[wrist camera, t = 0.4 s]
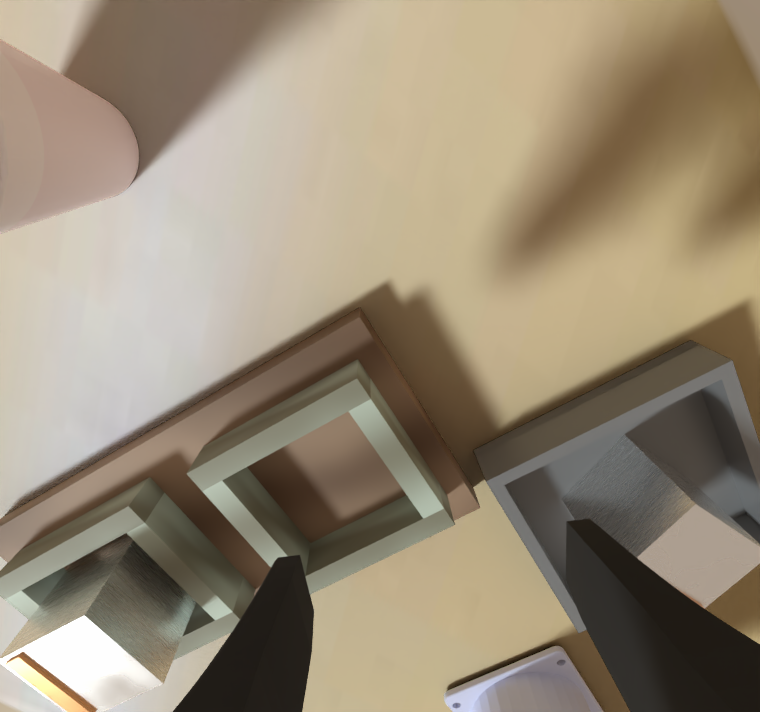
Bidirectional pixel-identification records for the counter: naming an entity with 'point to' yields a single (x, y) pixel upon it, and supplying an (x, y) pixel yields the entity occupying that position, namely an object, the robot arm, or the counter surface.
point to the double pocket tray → (256, 484)
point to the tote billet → (664, 521)
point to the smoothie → (56, 143)
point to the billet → (102, 630)
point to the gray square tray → (644, 426)
